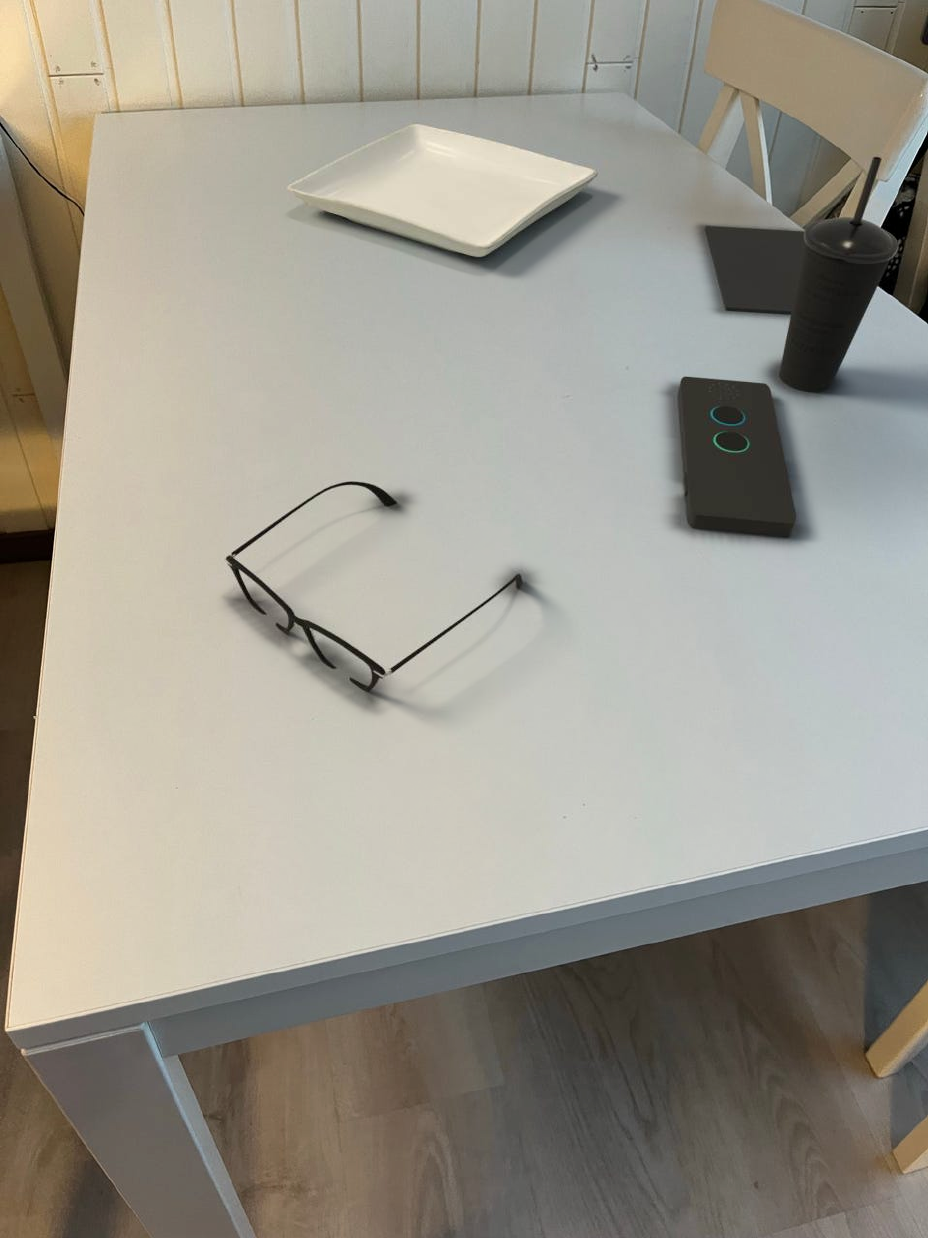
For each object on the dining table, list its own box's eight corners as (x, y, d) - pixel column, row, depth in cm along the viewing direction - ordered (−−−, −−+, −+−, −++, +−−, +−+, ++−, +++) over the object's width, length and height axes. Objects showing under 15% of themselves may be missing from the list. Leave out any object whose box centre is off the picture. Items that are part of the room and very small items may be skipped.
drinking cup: (786, 406, 86) (858, 179, 72) (749, 363, 92) (810, 143, 77) (862, 398, 88) (947, 173, 74) (821, 355, 93) (894, 138, 79)
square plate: (485, 280, 102) (487, 244, 99) (285, 217, 111) (281, 183, 109) (597, 197, 118) (601, 164, 116) (414, 148, 128) (414, 117, 125)
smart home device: (771, 381, 86) (800, 522, 72) (766, 398, 87) (794, 540, 73) (678, 373, 86) (689, 512, 73) (675, 390, 88) (685, 529, 74)
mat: (842, 319, 98) (843, 314, 98) (725, 312, 99) (726, 307, 98) (806, 236, 112) (808, 231, 112) (704, 230, 113) (705, 225, 112)
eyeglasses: (219, 594, 67) (210, 551, 64) (379, 493, 76) (377, 452, 73) (385, 720, 60) (383, 678, 57) (542, 593, 68) (547, 551, 65)
